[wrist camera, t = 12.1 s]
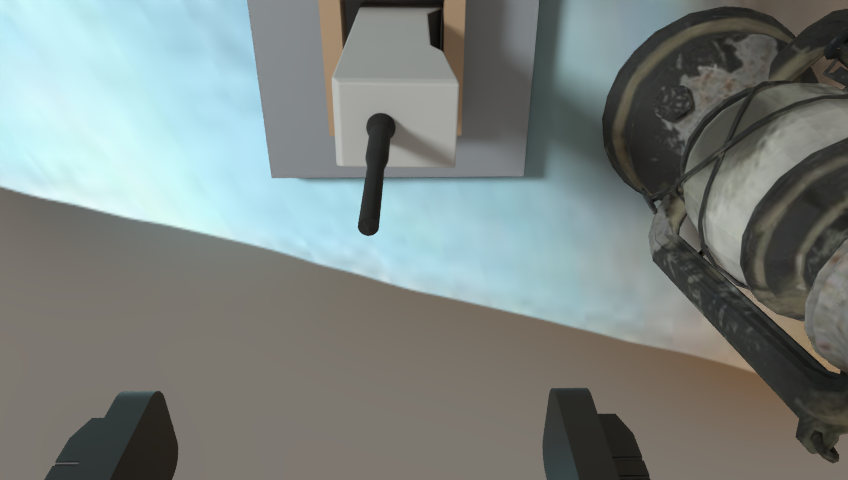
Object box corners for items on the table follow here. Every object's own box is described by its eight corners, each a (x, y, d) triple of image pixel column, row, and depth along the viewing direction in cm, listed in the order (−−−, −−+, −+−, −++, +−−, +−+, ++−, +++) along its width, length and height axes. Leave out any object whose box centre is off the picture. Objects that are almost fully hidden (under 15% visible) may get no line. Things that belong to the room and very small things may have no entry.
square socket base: (240, -113, 37) (217, -111, 32) (543, -114, 37) (560, -112, 33) (277, 166, 46) (263, 196, 42) (519, 164, 46) (530, 194, 42)
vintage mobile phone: (440, 63, 40) (471, 283, 19) (363, 62, 40) (305, 282, 19) (442, 3, 38) (479, 170, 17) (361, 1, 38) (294, 168, 17)
